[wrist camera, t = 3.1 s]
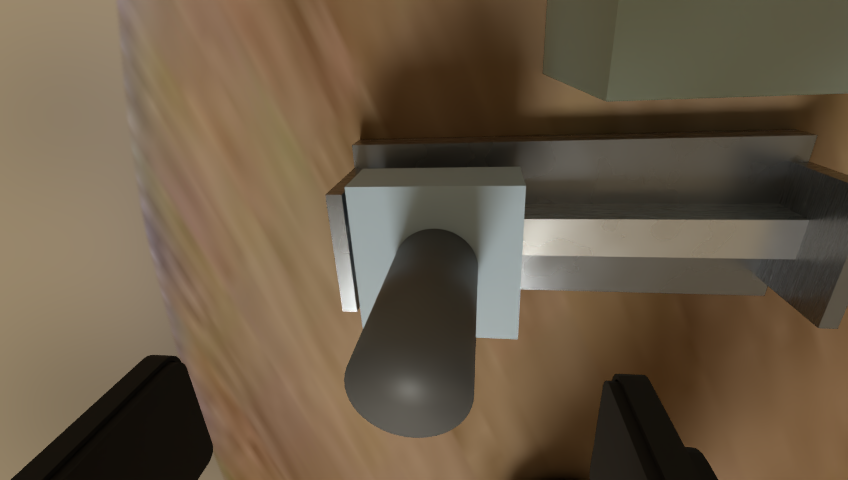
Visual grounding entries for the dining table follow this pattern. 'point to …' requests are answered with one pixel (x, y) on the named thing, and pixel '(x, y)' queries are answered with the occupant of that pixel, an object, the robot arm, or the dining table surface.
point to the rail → (647, 182)
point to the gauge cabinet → (697, 47)
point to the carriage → (431, 288)
